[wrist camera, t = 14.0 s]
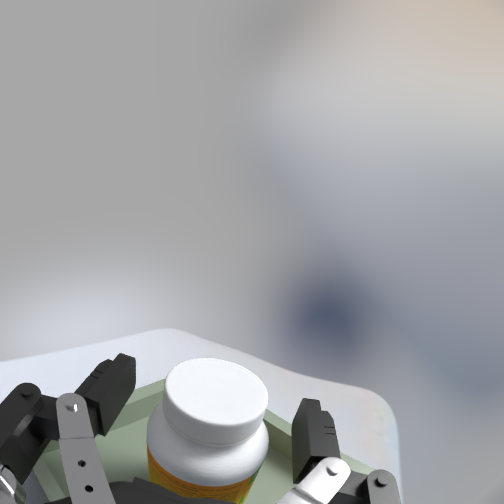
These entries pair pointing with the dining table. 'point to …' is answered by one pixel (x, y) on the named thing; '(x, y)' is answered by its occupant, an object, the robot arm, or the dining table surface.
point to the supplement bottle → (208, 431)
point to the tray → (136, 463)
